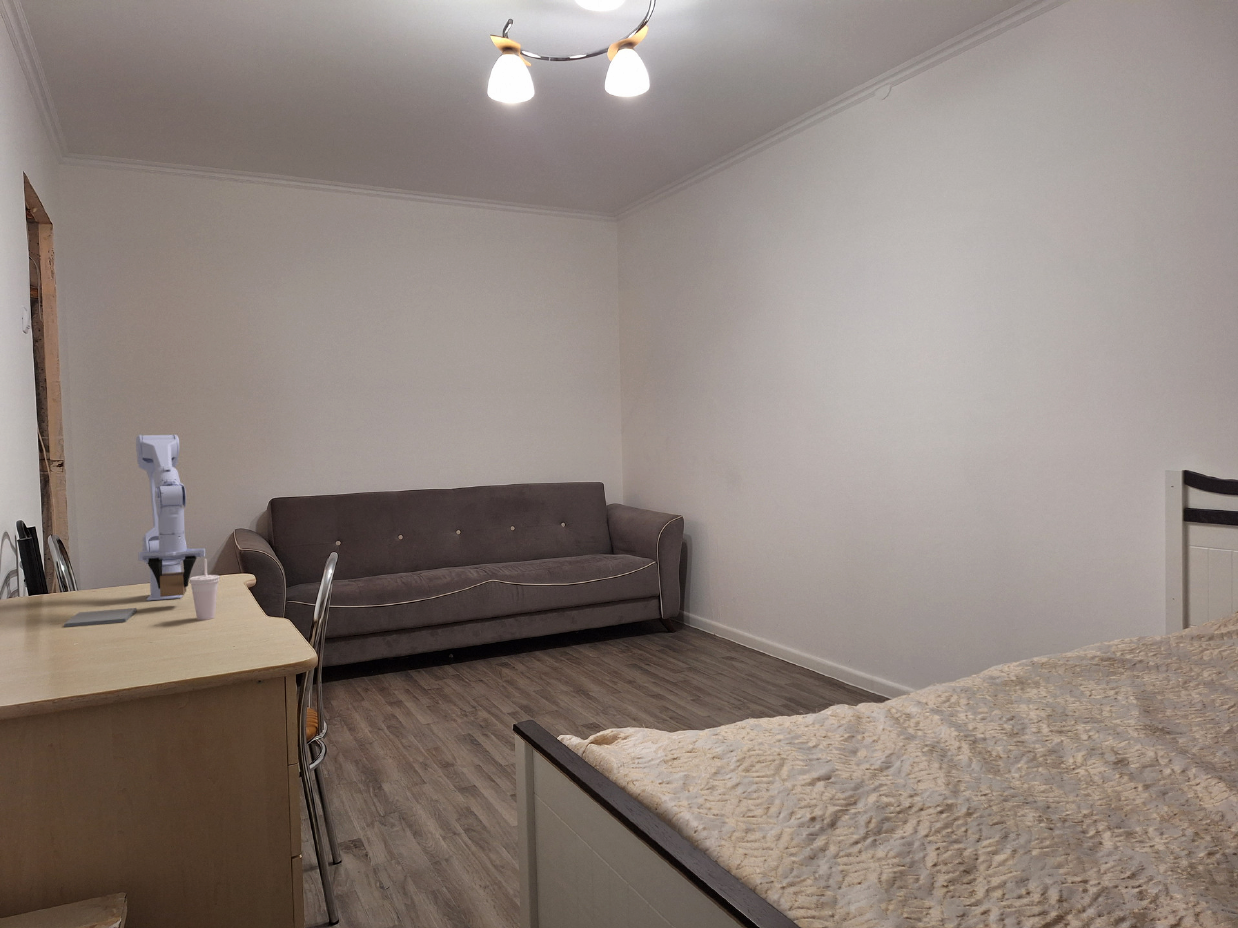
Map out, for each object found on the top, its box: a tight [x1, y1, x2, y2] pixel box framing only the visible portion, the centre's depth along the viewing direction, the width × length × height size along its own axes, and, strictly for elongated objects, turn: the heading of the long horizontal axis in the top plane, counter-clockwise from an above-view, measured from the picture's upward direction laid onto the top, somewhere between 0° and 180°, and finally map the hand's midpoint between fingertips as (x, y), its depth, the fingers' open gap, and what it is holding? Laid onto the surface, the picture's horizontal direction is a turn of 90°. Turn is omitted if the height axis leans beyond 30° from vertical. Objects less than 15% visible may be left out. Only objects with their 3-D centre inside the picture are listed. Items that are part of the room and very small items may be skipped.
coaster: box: [63, 607, 137, 628], centre depth 188 cm, size 12×12×1 cm
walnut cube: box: [160, 571, 187, 597], centre depth 199 cm, size 5×5×5 cm
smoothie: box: [188, 558, 220, 621], centre depth 187 cm, size 6×6×14 cm
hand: (173, 586), depth 199 cm, fingers closed on walnut cube, 5 cm apart
